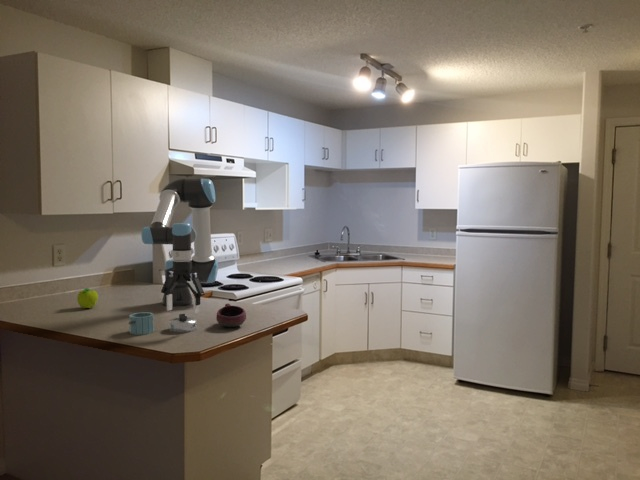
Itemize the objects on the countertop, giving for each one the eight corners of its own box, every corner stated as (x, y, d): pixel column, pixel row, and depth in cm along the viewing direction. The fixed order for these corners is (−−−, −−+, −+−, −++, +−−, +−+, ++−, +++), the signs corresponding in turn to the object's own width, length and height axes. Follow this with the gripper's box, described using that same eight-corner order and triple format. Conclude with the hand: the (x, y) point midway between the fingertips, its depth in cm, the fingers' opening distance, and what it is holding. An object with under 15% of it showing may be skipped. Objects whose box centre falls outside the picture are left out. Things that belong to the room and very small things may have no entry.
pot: (144, 326, 226) (143, 310, 225) (161, 329, 222) (161, 312, 222) (121, 334, 214) (121, 317, 213) (139, 336, 210) (139, 319, 210)
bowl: (252, 326, 227) (252, 308, 227) (227, 332, 218) (227, 312, 218) (230, 320, 239) (229, 302, 238) (205, 325, 229) (205, 306, 229)
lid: (180, 325, 229) (180, 310, 229) (202, 328, 225) (201, 313, 224) (164, 331, 219) (163, 316, 219) (185, 334, 215) (185, 318, 214)
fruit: (75, 310, 256) (75, 290, 255) (80, 306, 265) (79, 286, 264) (96, 309, 258) (95, 289, 257) (99, 305, 267) (99, 286, 266)
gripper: (151, 260, 221) (152, 310, 222) (201, 263, 211) (202, 315, 213) (163, 258, 228) (164, 307, 229) (212, 261, 218) (213, 312, 220)
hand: (182, 311), depth 221 cm, fingers open, 13 cm apart
